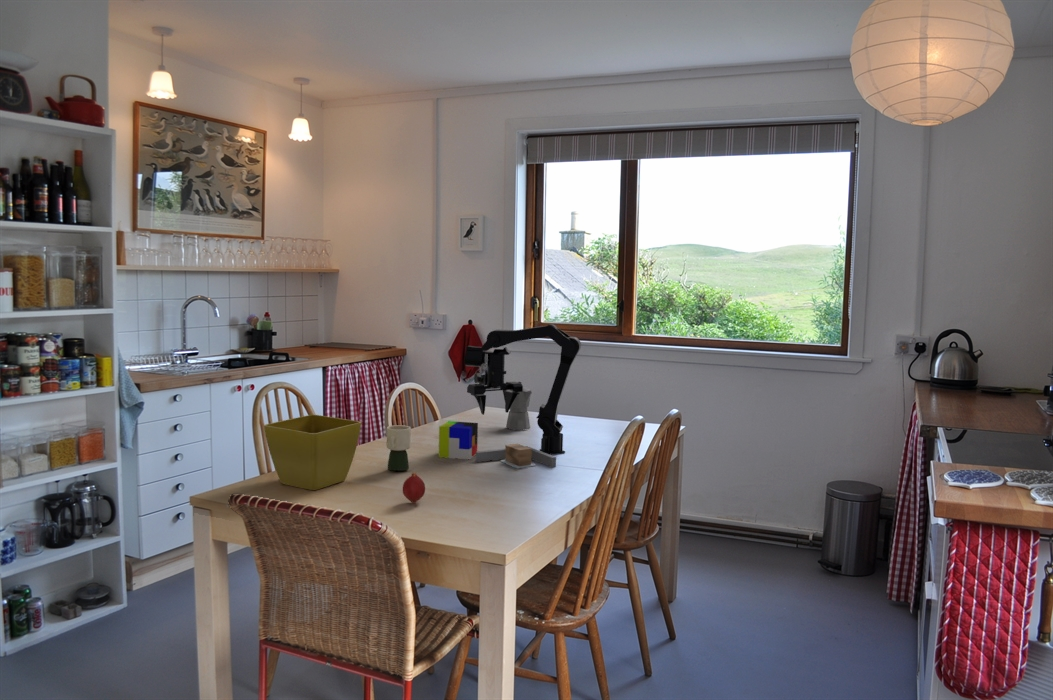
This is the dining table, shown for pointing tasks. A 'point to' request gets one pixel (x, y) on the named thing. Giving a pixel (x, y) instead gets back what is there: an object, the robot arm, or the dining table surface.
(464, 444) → the puzzle toy
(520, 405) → the coffeepot
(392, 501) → the dining table surface
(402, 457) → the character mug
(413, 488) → the onion
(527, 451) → the walnut block
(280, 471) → the flower pot
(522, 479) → the dining table surface
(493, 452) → the grey angle bracket
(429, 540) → the dining table surface
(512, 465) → the mat
